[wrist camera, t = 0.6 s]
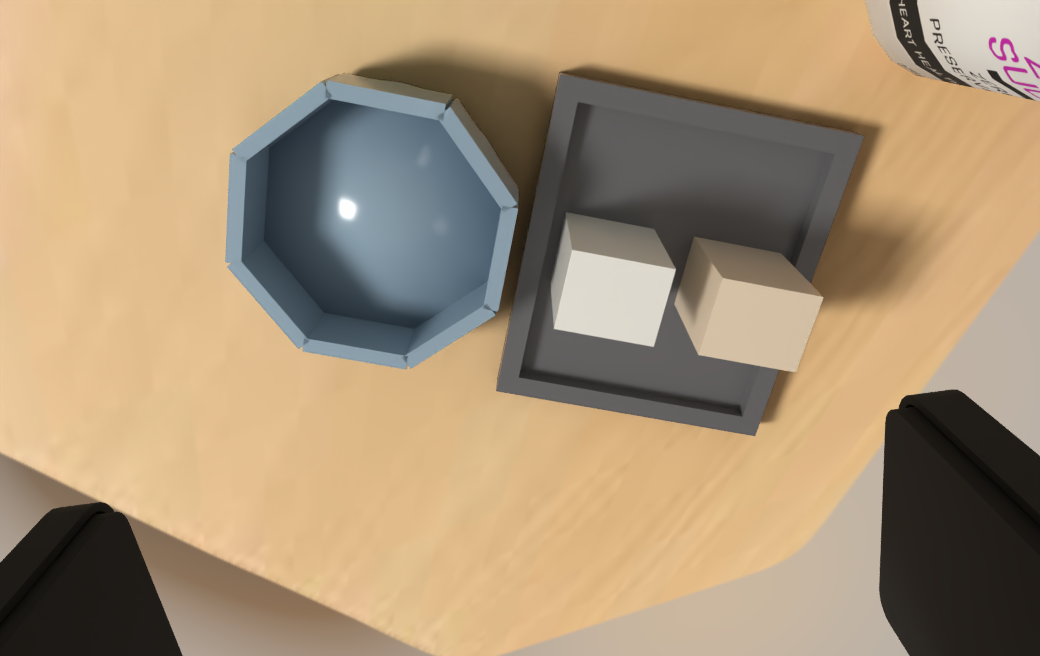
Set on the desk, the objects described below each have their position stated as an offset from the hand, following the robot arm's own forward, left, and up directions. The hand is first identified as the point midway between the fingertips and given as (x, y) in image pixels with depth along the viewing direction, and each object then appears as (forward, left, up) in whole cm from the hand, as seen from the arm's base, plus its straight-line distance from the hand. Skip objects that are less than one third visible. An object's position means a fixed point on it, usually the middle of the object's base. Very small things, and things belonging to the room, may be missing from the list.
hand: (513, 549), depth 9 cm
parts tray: (+5, +8, -29) cm, 30 cm away
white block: (+5, +5, -29) cm, 29 cm away
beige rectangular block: (+5, +11, -29) cm, 31 cm away
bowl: (+5, -6, -29) cm, 30 cm away
